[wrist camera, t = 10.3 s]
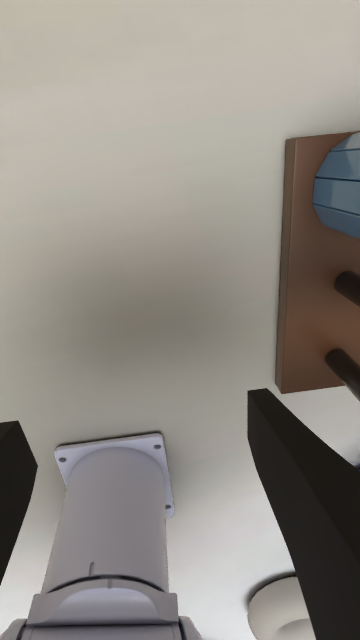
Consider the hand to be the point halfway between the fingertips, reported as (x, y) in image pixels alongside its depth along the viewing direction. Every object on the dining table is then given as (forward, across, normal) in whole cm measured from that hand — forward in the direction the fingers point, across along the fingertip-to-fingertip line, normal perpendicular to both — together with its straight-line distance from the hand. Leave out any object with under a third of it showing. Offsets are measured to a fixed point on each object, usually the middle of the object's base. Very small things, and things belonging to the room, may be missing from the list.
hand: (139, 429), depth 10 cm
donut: (+10, -11, +38) cm, 40 cm away
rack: (+10, -12, 0) cm, 16 cm away
